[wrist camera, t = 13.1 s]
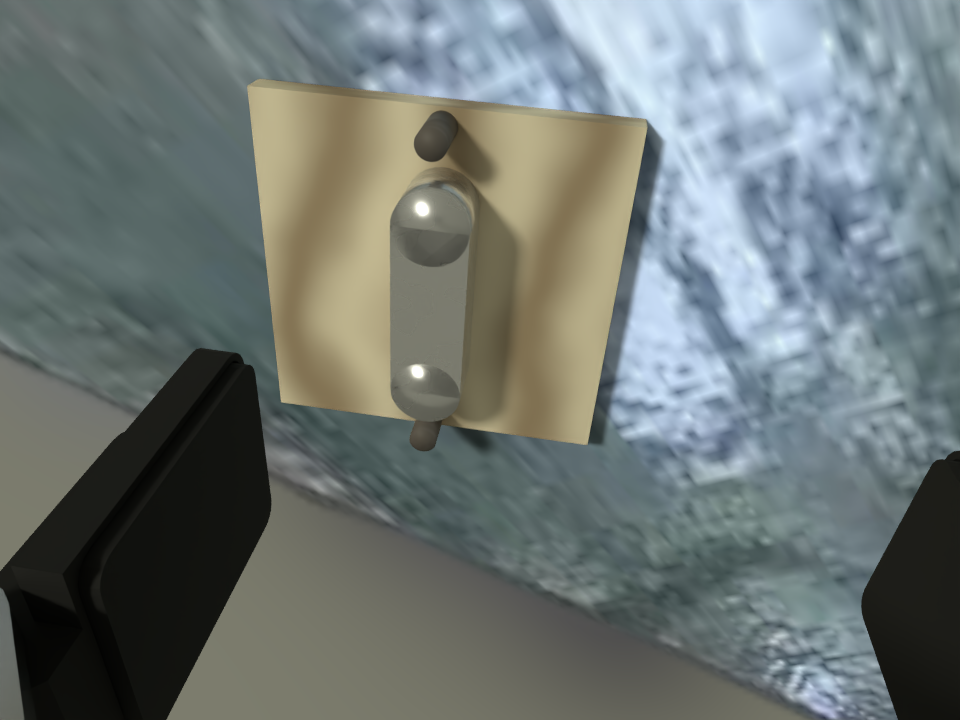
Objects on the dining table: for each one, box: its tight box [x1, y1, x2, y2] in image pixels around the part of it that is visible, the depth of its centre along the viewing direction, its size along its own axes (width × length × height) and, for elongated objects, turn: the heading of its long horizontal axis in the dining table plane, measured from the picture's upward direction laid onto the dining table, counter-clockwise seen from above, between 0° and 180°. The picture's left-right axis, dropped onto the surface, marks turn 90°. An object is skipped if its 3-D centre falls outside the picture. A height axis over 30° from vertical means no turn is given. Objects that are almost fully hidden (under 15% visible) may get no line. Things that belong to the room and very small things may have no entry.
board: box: [247, 79, 647, 451], centre depth 42 cm, size 20×20×4 cm
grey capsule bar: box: [390, 167, 480, 422], centre depth 41 cm, size 4×14×4 cm, turn 176°
